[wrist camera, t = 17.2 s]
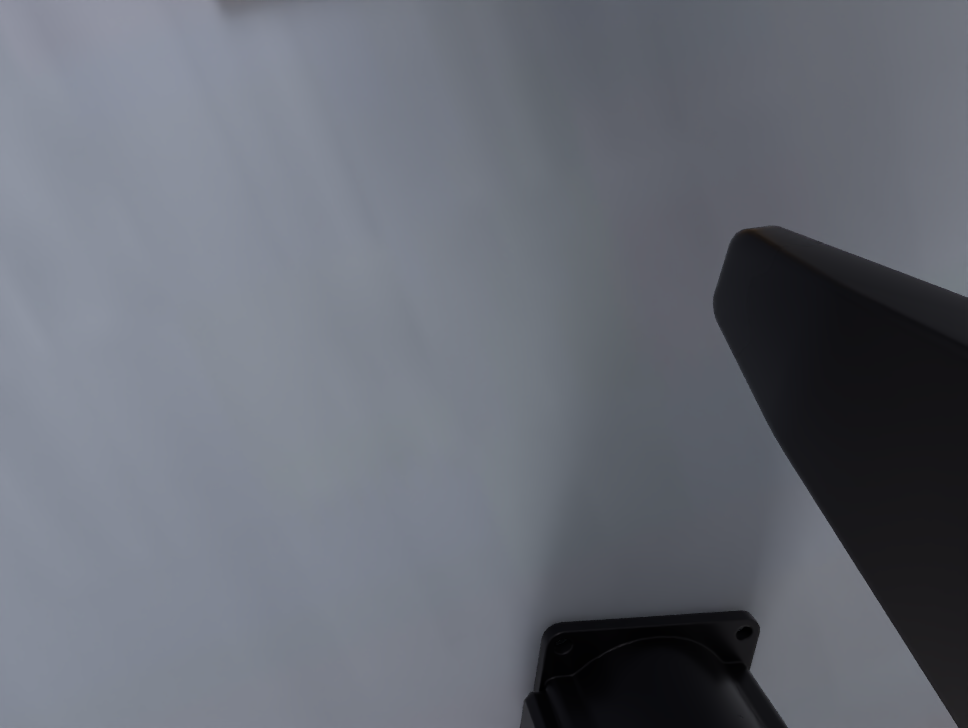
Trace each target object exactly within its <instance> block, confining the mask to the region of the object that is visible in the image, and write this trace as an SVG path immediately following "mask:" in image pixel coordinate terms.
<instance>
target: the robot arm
mask: <svg viewBox="0 0 968 728" xmlns="http://www.w3.org/2000/svg"><path fill="white" fill-rule="evenodd" d="M713 308H714V314H715V318H716V320H717V323H718V325H719V327H720V329H721V331H722V333H723V335H724V337H725V339H726V341H727V343H728V345H729V347H730V349H731V351H732V353H733V355H734V357H735V359H736V361H737V363H738V365H739V367H740V369H741V371H742V373H743V375H744V377H745V379H746V381H747V383H748V385H749V387H750V389H751V391H752V393H753V395H754V397H755V399H756V401H757V403H758V405H759V407H760V409H761V411H762V413H763V415H764V417H765V419H766V421H767V423H768V425H769V427H770V429H771V431H772V432H773V434H774V436H775V438H776V440H777V441H778V443H779V445H780V446H781V448H782V450H783V451H784V453H785V455H786V456H787V458H788V459H789V461H790V463H791V464H792V466H793V467H794V469H795V470H796V472H797V474H798V475H799V477H800V478H801V480H802V481H803V483H804V485H805V486H806V488H807V489H808V491H809V493H810V494H811V496H812V497H813V499H814V500H815V502H816V504H817V505H818V507H819V508H820V510H821V511H822V513H823V515H824V516H825V518H826V519H827V521H828V522H829V524H830V526H831V527H832V529H833V530H834V532H835V534H836V535H837V537H838V538H839V540H840V541H841V543H842V545H843V546H844V548H845V549H846V551H847V552H848V554H849V556H850V557H851V559H852V560H853V562H854V563H855V565H856V567H857V568H858V570H859V571H860V573H861V575H862V576H863V578H864V579H865V581H866V582H867V584H868V586H869V587H870V589H871V590H872V592H873V593H874V595H875V597H876V598H877V600H878V601H879V603H880V604H881V606H882V608H883V609H884V611H885V612H886V614H887V616H888V617H889V619H890V620H891V622H892V623H893V625H894V627H895V628H896V630H897V631H898V633H899V634H900V636H901V638H902V639H903V641H904V642H905V644H906V645H907V647H908V649H909V650H910V652H911V653H912V655H913V657H914V658H915V660H916V661H917V663H918V664H919V666H920V668H921V669H922V671H923V672H924V674H925V675H926V677H927V679H928V680H929V682H930V683H931V685H932V686H933V688H934V690H935V691H936V693H937V694H938V696H939V698H940V699H941V701H942V702H943V704H944V705H945V707H946V709H947V710H948V712H949V713H950V715H951V716H952V718H953V720H954V721H955V723H956V724H957V726H958V728H968V297H965V296H962V295H960V294H957V293H954V292H952V291H949V290H946V289H944V288H941V287H938V286H936V285H933V284H931V283H928V282H925V281H923V280H920V279H917V278H915V277H912V276H909V275H907V274H904V273H901V272H899V271H896V270H893V269H891V268H888V267H885V266H883V265H880V264H877V263H875V262H872V261H870V260H867V259H864V258H862V257H859V256H856V255H854V254H851V253H848V252H846V251H843V250H840V249H838V248H835V247H832V246H830V245H827V244H824V243H822V242H819V241H816V240H814V239H811V238H809V237H806V236H803V235H801V234H798V233H795V232H793V231H790V230H787V229H785V228H782V227H779V226H764V227H756V228H749V229H743V230H741V231H739V232H738V233H736V234H735V236H734V237H733V238H732V240H731V242H730V244H729V247H728V251H727V254H726V257H725V260H724V264H723V267H722V270H721V273H720V277H719V280H718V283H717V286H716V289H715V293H714V297H713ZM742 627H744V628H742ZM740 628H742V629H741V630H740V631H738V630H739V629H740ZM759 633H760V627H759V625H758V623H757V621H756V620H755V619H754V617H753V616H752V615H751V614H750V613H749V612H747V611H728V612H712V613H697V614H682V615H666V616H651V617H636V618H620V619H605V620H590V621H574V622H561V623H556V624H554V625H552V626H550V627H548V629H547V630H546V631H545V632H544V634H543V636H542V640H541V647H540V653H539V659H538V666H537V672H536V679H535V685H534V692H530V693H529V695H528V696H527V697H526V699H525V700H524V705H523V712H522V719H521V725H520V728H788V727H787V725H786V724H785V722H784V721H783V720H782V718H781V717H780V715H779V714H778V712H777V711H776V709H775V708H774V706H773V705H772V703H771V702H770V700H769V699H768V698H767V696H766V695H765V693H764V692H763V690H762V689H761V687H760V686H759V684H758V683H757V681H756V680H755V678H754V677H753V675H752V674H751V673H750V671H749V670H750V666H751V663H752V659H753V655H754V651H755V648H756V644H757V640H758V636H759ZM562 639H566V640H565V641H564V642H563V643H561V644H556V643H557V642H558V641H559V640H562Z"/></svg>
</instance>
